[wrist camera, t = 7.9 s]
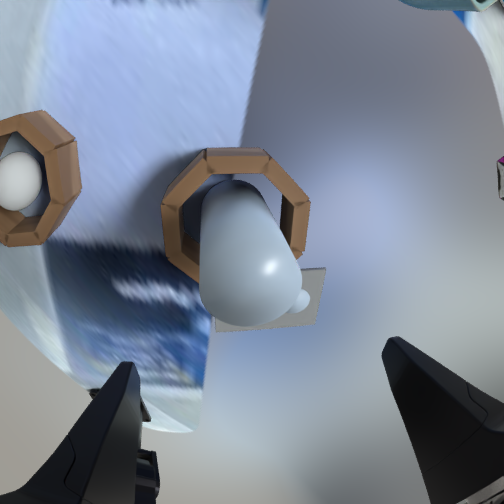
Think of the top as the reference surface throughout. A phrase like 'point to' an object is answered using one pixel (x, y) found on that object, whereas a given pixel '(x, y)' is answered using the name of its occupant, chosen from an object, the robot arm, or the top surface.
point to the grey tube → (244, 258)
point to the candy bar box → (501, 177)
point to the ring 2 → (229, 162)
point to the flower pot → (451, 4)
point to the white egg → (19, 180)
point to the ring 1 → (58, 175)
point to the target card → (299, 312)
